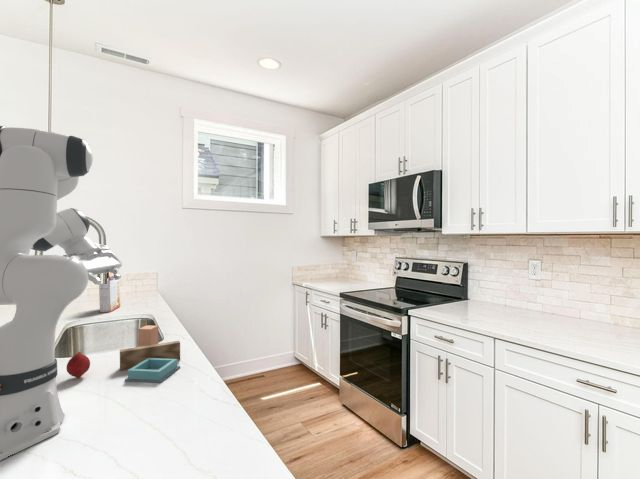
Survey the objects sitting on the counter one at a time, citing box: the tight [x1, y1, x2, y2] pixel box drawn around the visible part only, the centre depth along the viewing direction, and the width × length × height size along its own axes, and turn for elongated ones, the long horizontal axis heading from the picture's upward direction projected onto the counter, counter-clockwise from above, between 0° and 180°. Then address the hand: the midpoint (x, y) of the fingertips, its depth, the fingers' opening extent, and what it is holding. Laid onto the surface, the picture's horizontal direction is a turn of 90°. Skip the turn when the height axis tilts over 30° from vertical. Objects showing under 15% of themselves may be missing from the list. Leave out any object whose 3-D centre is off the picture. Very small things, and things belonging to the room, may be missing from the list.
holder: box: [124, 358, 181, 384], centre depth 104 cm, size 11×11×3 cm
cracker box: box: [98, 272, 121, 313], centre depth 193 cm, size 14×6×21 cm, turn 10°
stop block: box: [138, 324, 159, 347], centre depth 121 cm, size 5×5×10 cm
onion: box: [66, 350, 91, 379], centre depth 102 cm, size 6×6×8 cm
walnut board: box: [119, 340, 181, 372], centre depth 113 cm, size 18×2×6 cm, turn 121°
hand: (109, 280), depth 121 cm, fingers open, 8 cm apart
